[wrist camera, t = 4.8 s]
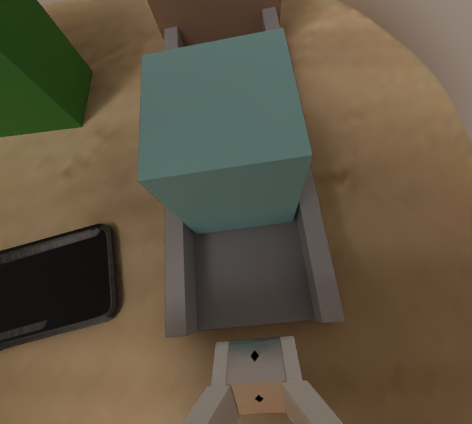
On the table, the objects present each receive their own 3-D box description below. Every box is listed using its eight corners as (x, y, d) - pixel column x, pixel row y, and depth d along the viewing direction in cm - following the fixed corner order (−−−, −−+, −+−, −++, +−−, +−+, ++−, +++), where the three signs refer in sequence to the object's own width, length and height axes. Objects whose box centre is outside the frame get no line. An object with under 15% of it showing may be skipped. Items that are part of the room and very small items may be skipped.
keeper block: (197, 234, 19) (137, 181, 10) (193, 152, 21) (142, 54, 13) (292, 222, 18) (312, 155, 10) (277, 139, 21) (283, 27, 12)
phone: (-56, 266, 22) (109, 220, 21) (-41, 268, 23) (117, 224, 22) (-73, 369, 19) (117, 319, 19) (-55, 366, 20) (125, 318, 20)
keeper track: (180, 330, 18) (55, 374, 8) (174, 37, 28) (115, -123, 18) (335, 315, 18) (442, 342, 7) (272, 17, 28) (274, -164, 17)
